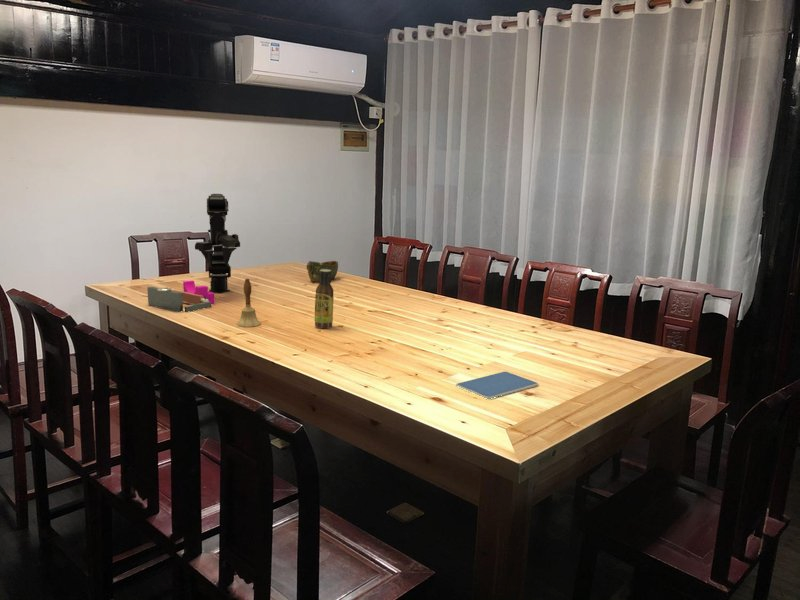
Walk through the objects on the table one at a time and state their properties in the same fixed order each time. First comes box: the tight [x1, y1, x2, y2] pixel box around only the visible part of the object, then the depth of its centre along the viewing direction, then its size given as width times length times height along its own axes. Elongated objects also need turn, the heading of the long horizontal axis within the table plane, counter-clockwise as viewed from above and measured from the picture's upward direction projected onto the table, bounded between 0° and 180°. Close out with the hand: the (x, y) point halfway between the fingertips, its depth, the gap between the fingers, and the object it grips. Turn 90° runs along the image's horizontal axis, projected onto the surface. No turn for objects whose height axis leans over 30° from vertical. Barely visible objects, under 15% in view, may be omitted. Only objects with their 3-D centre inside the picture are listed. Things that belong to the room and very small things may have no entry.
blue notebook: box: [455, 371, 539, 400], centre depth 170 cm, size 19×13×1 cm, turn 128°
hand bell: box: [236, 278, 262, 328], centre depth 223 cm, size 8×8×16 cm
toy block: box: [182, 280, 215, 305], centre depth 256 cm, size 15×6×8 cm, turn 40°
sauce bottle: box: [314, 269, 335, 329], centre depth 222 cm, size 6×6×20 cm
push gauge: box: [147, 286, 212, 313], centre depth 248 cm, size 15×22×8 cm
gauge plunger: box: [171, 289, 208, 305], centre depth 251 cm, size 2×20×4 cm, turn 56°
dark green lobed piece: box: [306, 260, 339, 284], centre depth 308 cm, size 13×20×10 cm, turn 123°
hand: (218, 266), depth 263 cm, fingers open, 8 cm apart
